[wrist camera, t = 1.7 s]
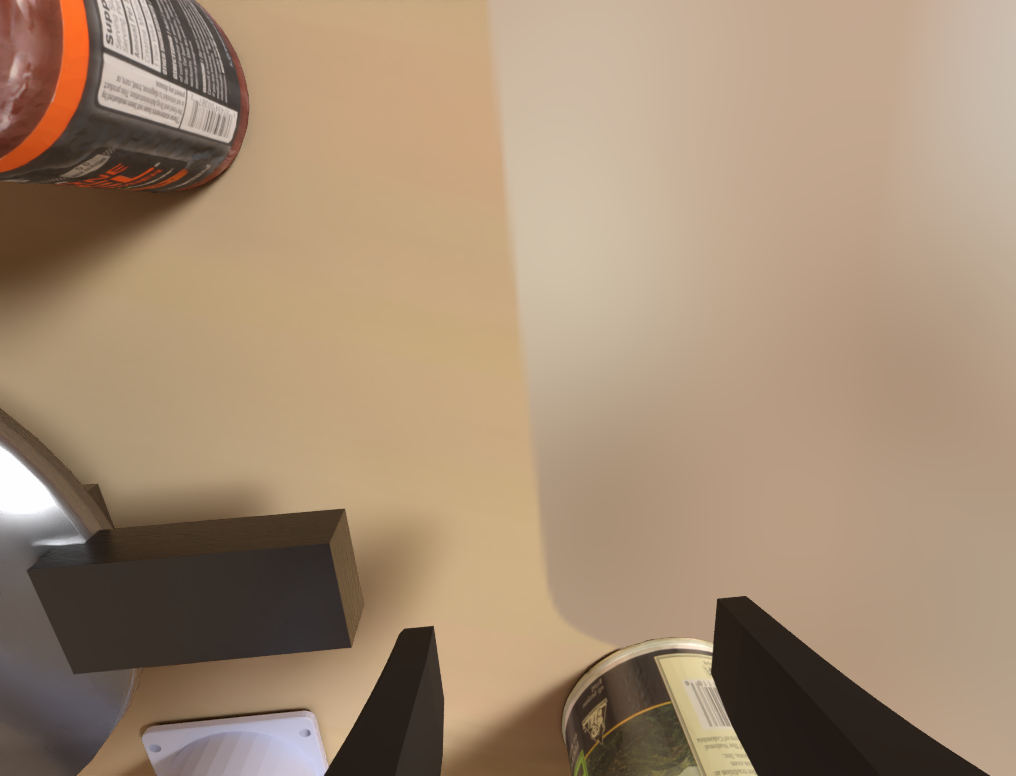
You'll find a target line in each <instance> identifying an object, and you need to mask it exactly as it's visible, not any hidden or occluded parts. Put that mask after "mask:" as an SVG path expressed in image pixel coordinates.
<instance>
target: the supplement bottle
mask: <svg viewBox="0 0 1016 776" xmlns="http://www.w3.org/2000/svg"><path fill="white" fill-rule="evenodd" d="M248 115H249V95H248V91H247V85H246V81H245V76H244V73H243V70H242V67H241V64H240V61H239V59H238V56H237V54H236V52H235V50H234V48H233V47H232V45H231V43H230V41H229V39H228V38H227V36H226V35H225V33H224V32H223V30H222V29H221V27H220V26H219V25H218V24H217V23H216V21H215V20H214V19H213V18H212V16H211V15H210V14H209V13H208V12H207V11H206V10H205V9H204V8H203V7H202V6H201V5H200V4H199V3H197V2H196V1H195V0H0V181H6V182H7V181H8V182H16V183H36V184H52V185H67V186H78V187H92V188H104V189H120V190H132V191H142V192H151V193H157V192H168V191H180V190H186V189H190V188H194V187H197V186H200V185H202V184H204V183H206V182H208V181H210V180H212V179H213V178H215V177H216V176H218V175H219V174H220V173H221V172H222V171H223V170H225V169H226V168H228V167H229V166H230V165H231V163H232V162H233V160H234V158H235V157H236V155H237V154H238V152H239V150H240V148H241V145H242V142H243V139H244V136H245V133H246V129H247V125H248Z"/></svg>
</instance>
